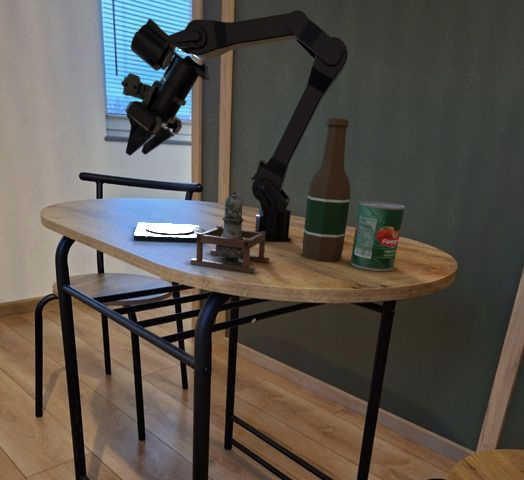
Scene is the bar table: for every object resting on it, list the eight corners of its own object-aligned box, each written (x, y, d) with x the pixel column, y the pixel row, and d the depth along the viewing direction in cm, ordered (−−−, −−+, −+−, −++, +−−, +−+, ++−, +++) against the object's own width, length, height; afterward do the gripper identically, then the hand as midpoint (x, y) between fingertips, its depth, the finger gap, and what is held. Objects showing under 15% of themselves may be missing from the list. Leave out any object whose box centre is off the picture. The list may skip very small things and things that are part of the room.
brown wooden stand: (212, 253, 87) (213, 224, 85) (269, 261, 84) (271, 232, 82) (190, 264, 79) (190, 232, 77) (252, 273, 76) (254, 241, 74)
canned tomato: (354, 258, 92) (363, 199, 87) (395, 264, 89) (407, 204, 85) (346, 266, 85) (355, 203, 80) (390, 273, 82) (402, 208, 78)
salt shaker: (209, 259, 83) (211, 187, 78) (240, 258, 85) (244, 188, 80) (221, 268, 78) (223, 192, 73) (253, 266, 80) (258, 192, 75)
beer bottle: (343, 255, 93) (362, 121, 84) (338, 263, 86) (359, 118, 77) (305, 250, 95) (319, 118, 85) (297, 258, 88) (312, 115, 78)
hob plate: (201, 229, 107) (201, 224, 107) (205, 242, 95) (205, 236, 94) (138, 227, 105) (137, 221, 104) (133, 240, 92) (133, 233, 92)
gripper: (156, 66, 102) (121, 129, 108) (123, 50, 85) (83, 127, 91) (198, 100, 103) (161, 161, 109) (173, 92, 86) (131, 165, 92)
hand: (135, 153), depth 100 cm, fingers open, 9 cm apart
